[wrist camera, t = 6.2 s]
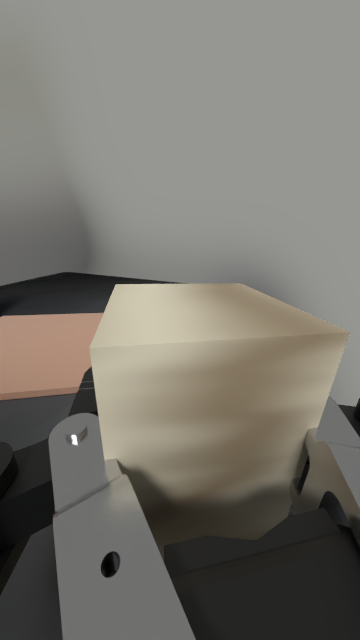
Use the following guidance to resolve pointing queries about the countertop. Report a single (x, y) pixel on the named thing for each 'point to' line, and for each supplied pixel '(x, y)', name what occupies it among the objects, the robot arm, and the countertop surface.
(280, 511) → the maple block
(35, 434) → the countertop surface
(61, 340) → the terracotta tile
